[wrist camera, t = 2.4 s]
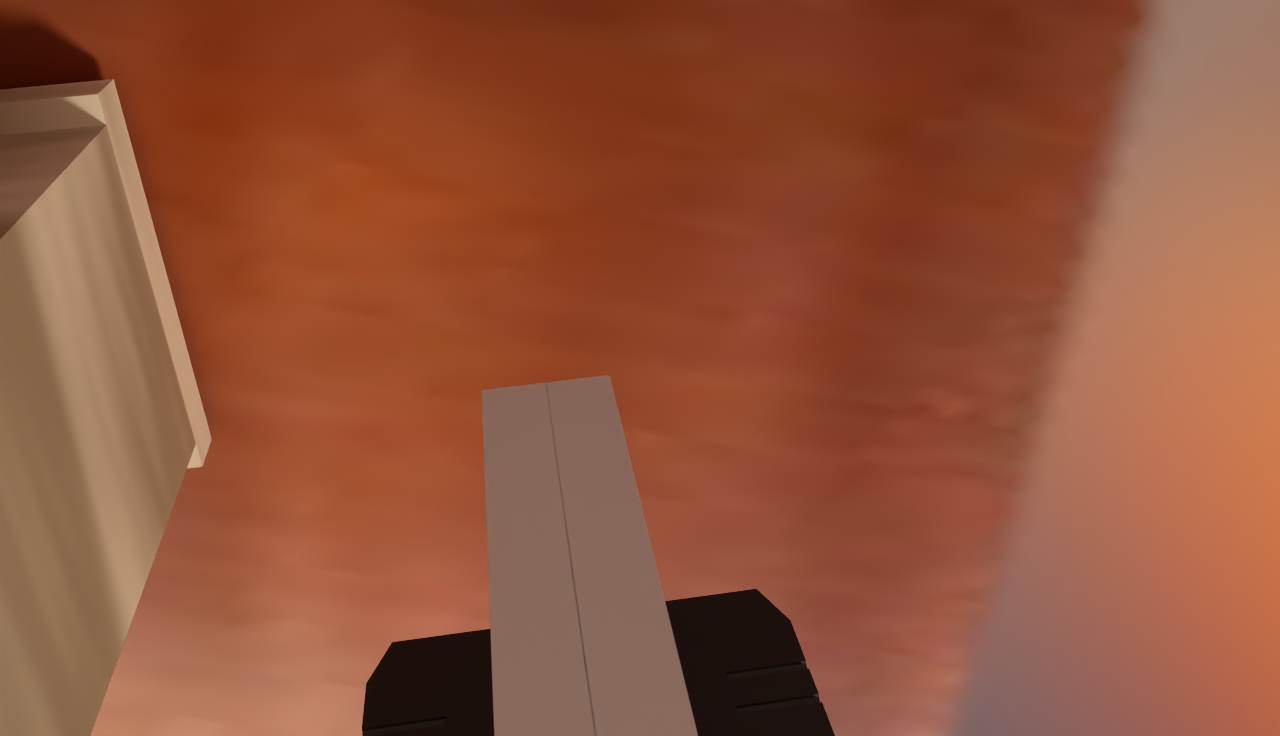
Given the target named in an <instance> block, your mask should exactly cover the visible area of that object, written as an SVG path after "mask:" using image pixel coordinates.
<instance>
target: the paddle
mask: <svg viewBox="0 0 1280 736" xmlns="http://www.w3.org/2000/svg"><path fill="white" fill-rule="evenodd" d="M210 442H211V435H210V431H209V428H208V424H207V420H206V417H205V413H204V409H203V406H202V402H201V398H200V395H199V391H198V387H197V384H196V380H195V376H194V373H193V369H192V365H191V362H190V358H189V354H188V351H187V347H186V343H185V340H184V336H183V332H182V329H181V325H180V321H179V318H178V314H177V310H176V307H175V303H174V299H173V296H172V292H171V288H170V285H169V281H168V277H167V274H166V270H165V266H164V263H163V259H162V255H161V252H160V248H159V244H158V241H157V237H156V233H155V230H154V226H153V222H152V219H151V215H150V211H149V208H148V204H147V200H146V197H145V193H144V189H143V186H142V182H141V178H140V175H139V171H138V167H137V164H136V160H135V156H134V153H133V149H132V145H131V142H130V138H129V134H128V131H127V127H126V123H125V120H124V116H123V112H122V109H121V105H120V101H119V98H118V94H117V90H116V87H115V83H114V79H109V80H98V81H88V82H77V83H66V84H56V85H45V86H34V87H24V88H13V89H2V90H0V736H90V735H91V732H92V729H93V727H94V724H95V721H96V718H97V715H98V713H99V710H100V707H101V704H102V702H103V699H104V696H105V693H106V691H107V688H108V685H109V682H110V680H111V677H112V674H113V671H114V668H115V666H116V663H117V660H118V657H119V655H120V652H121V649H122V646H123V644H124V641H125V638H126V635H127V633H128V630H129V627H130V624H131V621H132V619H133V616H134V613H135V610H136V608H137V605H138V602H139V599H140V597H141V594H142V591H143V588H144V586H145V583H146V580H147V577H148V575H149V572H150V569H151V566H152V563H153V561H154V558H155V555H156V552H157V550H158V547H159V544H160V541H161V539H162V536H163V533H164V530H165V528H166V525H167V522H168V519H169V516H170V514H171V511H172V508H173V505H174V503H175V500H176V497H177V494H178V492H179V489H180V486H181V483H182V481H183V478H184V475H185V472H186V469H187V468H194V467H202V466H203V463H204V460H205V457H206V454H207V451H208V448H209V445H210Z"/></svg>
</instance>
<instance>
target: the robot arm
mask: <svg viewBox="0 0 1280 736" xmlns="http://www.w3.org/2000/svg"><path fill="white" fill-rule="evenodd" d="M482 414H483V441H484V468H485V495H486V522H487V549H488V576H489V603H490V629H486V630H478V631H471V632H464V633H457V634H449V635H442V636H435V637H428V638H420V639H413V640H406V641H399V642H392V644H391V645H390V647H389V648H388V650H387V652H386V653H385V655H384V656H383V658H382V660H381V661H380V663H379V664H378V666H377V668H376V669H375V671H374V672H373V674H372V676H371V677H370V679H369V680H368V682H367V684H366V693H365V703H364V713H363V723H362V732H363V736H835V735H834V732H833V730H832V727H831V725H830V722H829V720H828V717H827V714H826V712H825V709H824V707H823V704H822V702H821V703H820V700H819V694H818V691H817V688H816V686H815V683H814V681H813V678H812V675H811V673H810V670H809V669H807V666H806V660H805V657H804V655H803V652H802V649H801V647H800V644H799V642H798V639H797V637H796V634H795V631H794V629H793V626H792V624H791V621H790V620H789V619H788V618H787V617H786V616H785V615H784V614H783V613H782V612H781V611H780V610H778V609H777V608H776V607H775V606H774V605H773V604H772V603H771V602H770V601H769V600H768V599H767V598H765V597H764V596H763V595H762V594H761V593H760V592H759V591H758V590H757V589H752V590H744V591H737V592H730V593H723V594H715V595H708V596H701V597H694V598H686V599H679V600H672V601H665V599H664V595H663V591H662V587H661V583H660V579H659V575H658V571H657V567H656V563H655V558H654V554H653V550H652V546H651V542H650V538H649V534H648V530H647V526H646V522H645V518H644V514H643V510H642V506H641V501H640V497H639V493H638V489H637V485H636V481H635V477H634V473H633V469H632V465H631V461H630V457H629V453H628V449H627V444H626V440H625V436H624V432H623V428H622V424H621V420H620V416H619V412H618V408H617V404H616V400H615V396H614V392H613V387H612V383H611V379H610V375H606V376H598V377H589V378H581V379H572V380H564V381H555V382H547V383H539V384H530V385H522V386H513V387H505V388H496V389H488V390H482Z"/></svg>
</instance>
